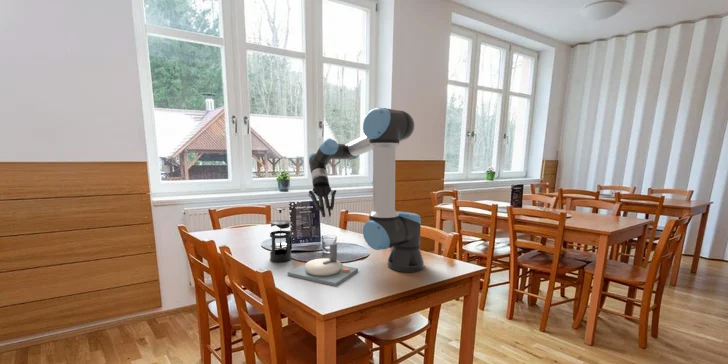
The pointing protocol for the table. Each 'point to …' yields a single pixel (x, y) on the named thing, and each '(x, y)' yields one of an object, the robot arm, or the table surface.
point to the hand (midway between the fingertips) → (327, 222)
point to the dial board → (328, 279)
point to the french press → (282, 250)
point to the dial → (325, 264)
